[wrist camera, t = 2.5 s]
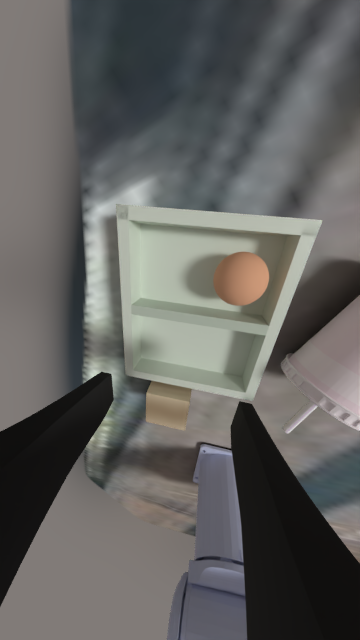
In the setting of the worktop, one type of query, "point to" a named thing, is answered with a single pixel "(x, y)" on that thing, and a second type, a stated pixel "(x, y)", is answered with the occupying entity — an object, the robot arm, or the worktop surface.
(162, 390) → the maple block
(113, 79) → the worktop surface
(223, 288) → the terracotta ball
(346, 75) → the worktop surface
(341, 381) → the smoothie
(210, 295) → the tray
